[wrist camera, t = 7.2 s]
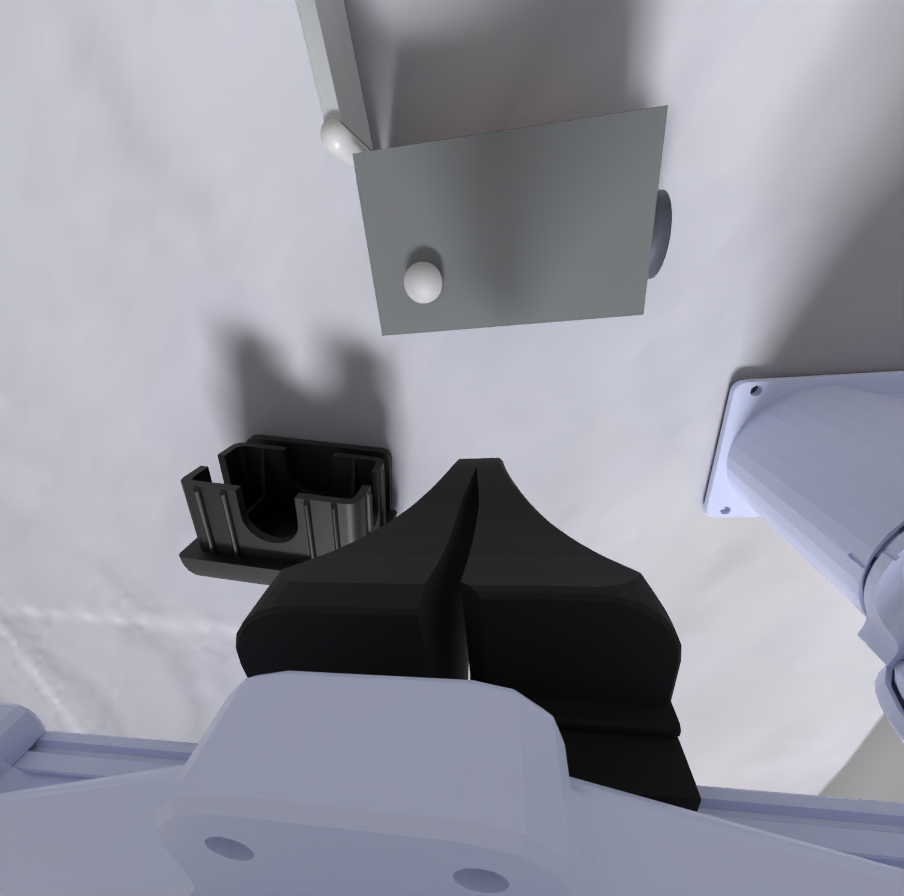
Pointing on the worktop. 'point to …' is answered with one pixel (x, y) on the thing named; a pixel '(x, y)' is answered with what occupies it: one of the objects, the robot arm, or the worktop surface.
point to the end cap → (284, 505)
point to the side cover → (335, 77)
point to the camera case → (517, 224)
